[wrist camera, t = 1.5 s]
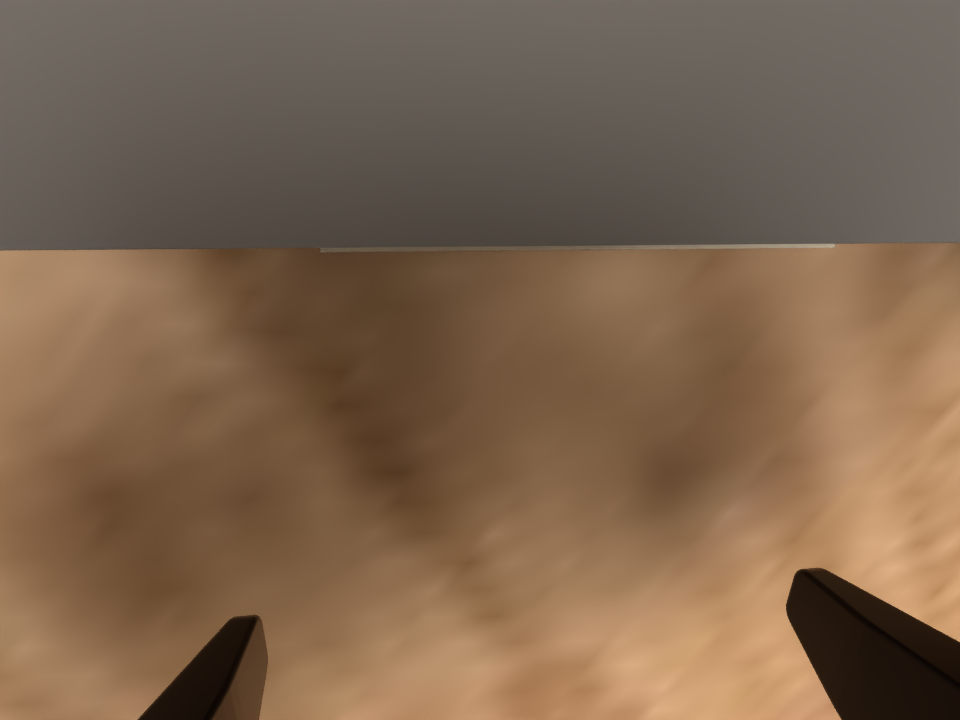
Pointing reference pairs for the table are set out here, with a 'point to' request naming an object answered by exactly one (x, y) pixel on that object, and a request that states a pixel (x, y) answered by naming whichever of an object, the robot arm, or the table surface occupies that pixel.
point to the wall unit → (478, 124)
